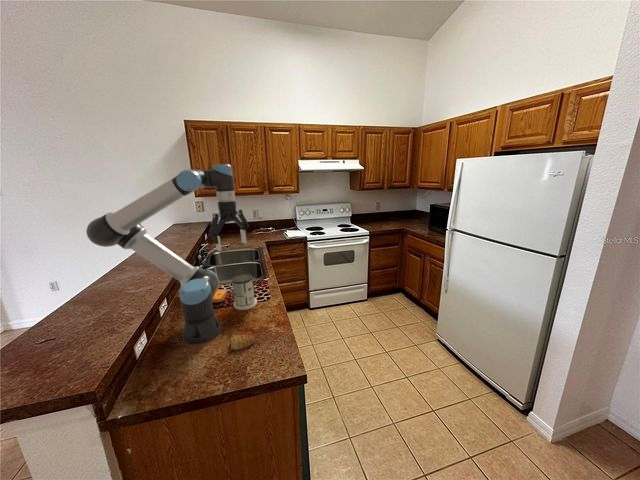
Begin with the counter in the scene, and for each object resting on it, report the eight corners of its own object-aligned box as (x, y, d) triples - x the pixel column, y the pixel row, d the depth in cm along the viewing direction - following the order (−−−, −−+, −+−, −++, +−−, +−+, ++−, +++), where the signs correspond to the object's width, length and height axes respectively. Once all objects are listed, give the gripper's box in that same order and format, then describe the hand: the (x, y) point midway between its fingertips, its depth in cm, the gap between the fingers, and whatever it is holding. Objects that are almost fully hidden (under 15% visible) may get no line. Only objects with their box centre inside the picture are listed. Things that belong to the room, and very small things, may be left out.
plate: (243, 312, 129) (243, 310, 129) (229, 305, 136) (228, 303, 136) (261, 302, 139) (261, 300, 138) (247, 296, 146) (247, 294, 145)
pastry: (253, 336, 111) (252, 328, 110) (255, 346, 105) (254, 338, 104) (230, 342, 108) (229, 334, 107) (231, 352, 102) (230, 344, 101)
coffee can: (239, 297, 142) (236, 273, 139) (257, 297, 141) (255, 273, 138) (231, 307, 133) (228, 281, 129) (251, 307, 132) (248, 282, 128)
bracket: (221, 303, 139) (218, 283, 136) (207, 303, 139) (204, 283, 136) (227, 294, 149) (224, 274, 146) (214, 294, 149) (212, 275, 146)
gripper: (204, 204, 103) (212, 255, 108) (254, 198, 122) (258, 241, 127) (194, 203, 107) (202, 252, 113) (244, 197, 126) (248, 239, 132)
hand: (232, 246), depth 120 cm, fingers open, 13 cm apart
